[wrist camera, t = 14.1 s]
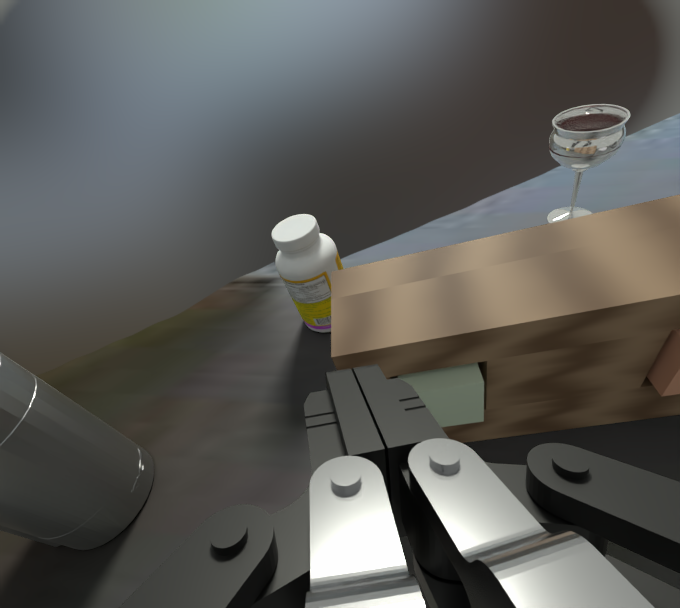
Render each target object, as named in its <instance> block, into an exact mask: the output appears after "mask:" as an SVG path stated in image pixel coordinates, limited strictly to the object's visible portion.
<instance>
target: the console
mask: <svg viewBox="0 0 680 608" xmlns="http://www.w3.org/2000/svg"><path fill="white" fill-rule="evenodd" d="M676 329H680V195H676V196H671V197H667V198H662V199H658V200H653V201H649V202H644V203H640V204H635V205H631V206H626V207H622V208H617V209H613V210H608V211H604V212H599V213H594V214H590V215H585V216H581V217H576V218H572V219H567V220H563V221H558V222H554V223H549V224H545V225H540V226H536V227H531V228H527V229H522V230H518V231H513V232H509V233H504V234H500V235H495V236H491V237H486V238H482V239H477V240H472V241H468V242H463V243H459V244H454V245H450V246H445V247H441V248H436V249H432V250H427V251H423V252H418V253H414V254H409V255H405V256H400V257H396V258H391V259H387V260H382V261H378V262H373V263H369V264H364V265H360V266H355V267H350V268H346V269H341V270H337V271H332V272H331V358H332V360H333V362H334V364H335V367H336V369H337V370H344V369H350V368H351V370H352V368H355V367H361V366H368V365H374V364H378V366H379V367H380V369H381V371H382V372H383V374H384V376H385V377H386V379H387V380H388V379H394V378H398V375H404V374H411V373H417V372H423V371H429V370H435V369H441V368H447V367H453V366H459V365H465V364H471V363H478V366H479V369H480V372H481V375H482V378H483V380H484V421H483V422H476V423H469V424H461V425H454V426H447V427H441V428H442V429H443V431H444V432H445V434H446V435H447V436H448V438H449V439H451V440H455V441H458V442H460V443H465V442H473V441H481V440H488V439H496V438H504V437H512V436H519V435H527V434H535V433H542V432H550V431H558V430H565V429H573V428H581V427H589V426H596V425H604V424H612V423H619V422H627V421H635V420H642V419H650V418H658V417H666V416H673V415H680V394H676V395H669V396H662V397H661V395H660V394H659V393H658V391H657V390H656V389H655V387H654V386H653V385H652V383H651V382H650V380H649V379H648V378H647V374H648V372H649V370H650V369H651V367H652V365H653V363H654V361H655V360H656V358H657V356H658V354H659V352H660V351H661V349H662V347H663V345H664V343H665V342H666V340H667V338H668V336H669V334H670V332H671V331H672V330H676Z"/></svg>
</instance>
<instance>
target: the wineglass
mask: <svg viewBox="0 0 680 608" xmlns="http://www.w3.org/2000/svg"><path fill="white" fill-rule="evenodd" d="M629 117H630V112H629V111H628V110H627V109H625V108H624V107H620V106H617V105H609V104H593V105H585V106H579V107H575V108H571V109H569V110H566V111H563V112H561V113H560V114H558V115H557V116H555V118H554V119H553V126H554V131H553V132H552V134H551V136H550V139H549V142H550V143H549V148H550V152H551V155H552V157H553V158H554V159H555V160H556V161H557V162H559V163H560V164H561V165H562V166H564V167H566V168H570V169H572V170H573V171H574V172H575V176H574V183H573V191H572V198H571V205H570V207H563V208H558V209H556V210H553V211H552V212H551V213H549V215H548V217H547V220H548V222H549V223H554V222H558V221H563V220H567V219H572V218H576V217H581V216H585V215H590V214H592V213H591V212H590V211H588V210H586V209H583V208H580V207H574V206H575V202H576V198H577V195H578V191H579V187H580V183H581V179H582V175H583V172H584V171H586V170H587V169H589V168H593V167H596V166H598V165H600V164H602V163H603V162H605V161H606V160H608V159H610V158H611V157H612V156H614V155H615V154H616V153H617V151H618V150H619V149H620V147H621V145H622V143H623V141H624V139H625V136H626V129H625V126H624V124H625V123H626V122H627V120H628V119H629Z"/></svg>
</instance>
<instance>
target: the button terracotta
mask: <svg viewBox="0 0 680 608" xmlns="http://www.w3.org/2000/svg"><path fill="white" fill-rule="evenodd" d="M647 378H648V379H649V380H650V382H651V383H652V385H653V386H654V387H655V389H656V390H657V391H658V393H659V394H660V395H661V397H662V396H669V395H676V394H680V329H676V330H672V331H671V332H670V334H669V336H668V338H667V340H666V342H665V343H664V345H663V347H662V349H661V351H660V352H659V354H658V356H657V358H656V360H655V361H654V363H653V365H652V367H651V369H650V370H649V372H648V374H647Z"/></svg>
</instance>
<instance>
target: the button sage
mask: <svg viewBox="0 0 680 608" xmlns="http://www.w3.org/2000/svg"><path fill="white" fill-rule="evenodd" d="M398 378H400V379H401V380H403V381H405V382H406V383H408V384H410V385H412V387H413V388H414V389H415V391H416V392H417V394H418V395H419V398H421V399H422V401H423V402H424V404H425V405H426V408H428V409H429V411H430V412H431V414H432V415H433V416H434V418H435V419H436V421H437V422H438V424H439V425H440V426H441V427H447V426H454V425H461V424H469V423H476V422H483V421H484V380H483V378H482V375H481V372H480V369H479V366H478V363H471V364H465V365H459V366H453V367H447V368H441V369H435V370H429V371H423V372H417V373H411V374H404V375H398Z"/></svg>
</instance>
